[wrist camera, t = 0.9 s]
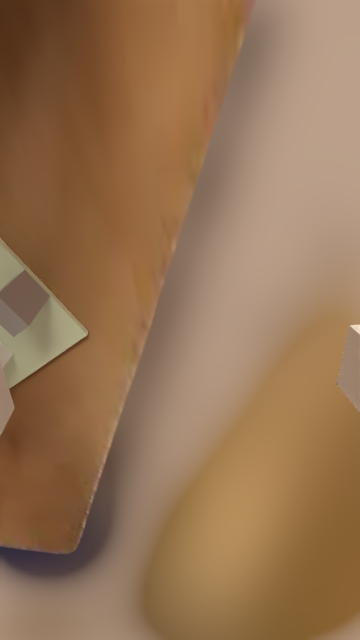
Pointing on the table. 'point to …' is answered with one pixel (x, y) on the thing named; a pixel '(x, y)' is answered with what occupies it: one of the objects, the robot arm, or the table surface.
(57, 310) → the heatsink board
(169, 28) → the table surface
